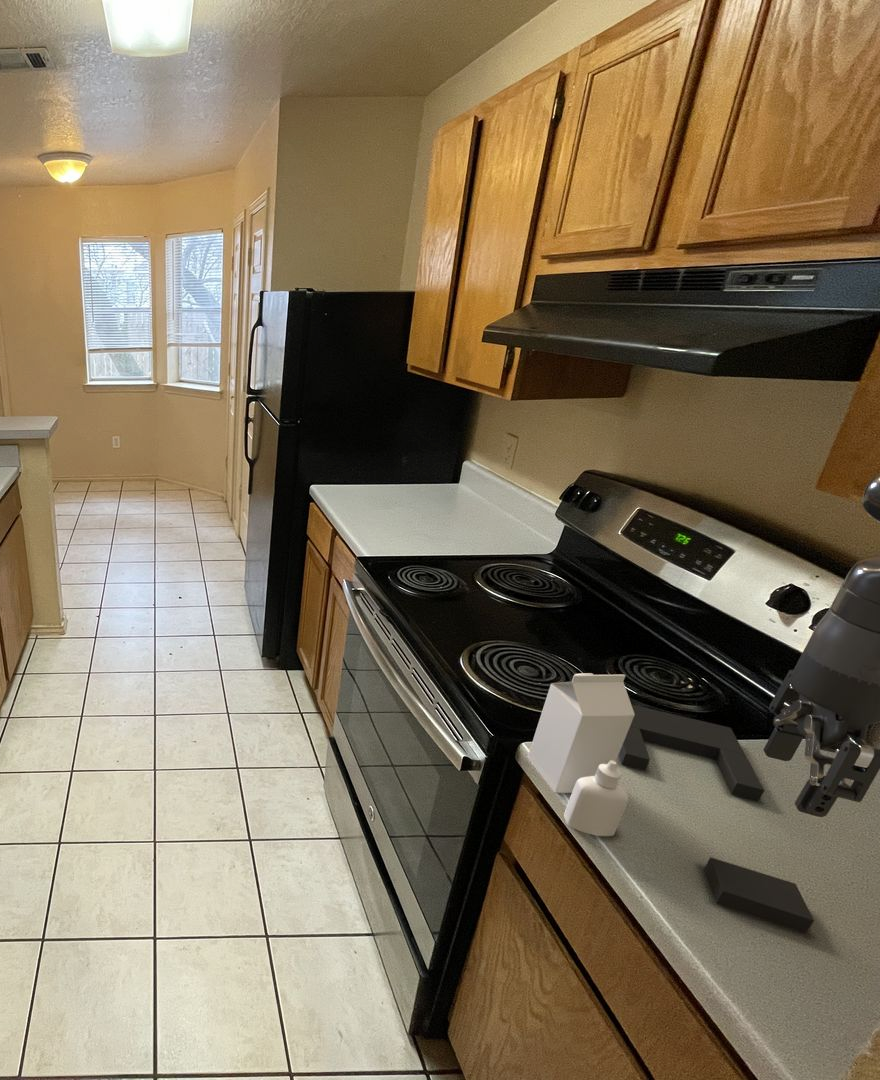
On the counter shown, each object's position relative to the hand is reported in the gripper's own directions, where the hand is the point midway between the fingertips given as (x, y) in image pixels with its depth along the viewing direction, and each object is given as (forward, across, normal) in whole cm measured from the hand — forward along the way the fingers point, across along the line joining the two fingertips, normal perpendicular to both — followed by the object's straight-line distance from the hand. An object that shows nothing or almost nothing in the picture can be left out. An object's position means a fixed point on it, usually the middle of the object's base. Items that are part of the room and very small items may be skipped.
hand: (791, 782), depth 64 cm
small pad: (+19, 0, -2) cm, 19 cm away
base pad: (+19, +26, 0) cm, 32 cm away
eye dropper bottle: (+19, +4, +14) cm, 24 cm away
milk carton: (+19, +13, +16) cm, 28 cm away
